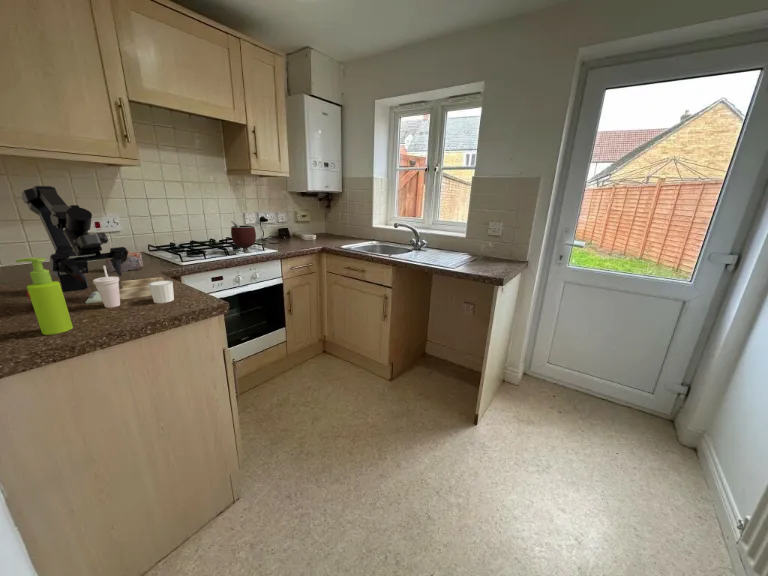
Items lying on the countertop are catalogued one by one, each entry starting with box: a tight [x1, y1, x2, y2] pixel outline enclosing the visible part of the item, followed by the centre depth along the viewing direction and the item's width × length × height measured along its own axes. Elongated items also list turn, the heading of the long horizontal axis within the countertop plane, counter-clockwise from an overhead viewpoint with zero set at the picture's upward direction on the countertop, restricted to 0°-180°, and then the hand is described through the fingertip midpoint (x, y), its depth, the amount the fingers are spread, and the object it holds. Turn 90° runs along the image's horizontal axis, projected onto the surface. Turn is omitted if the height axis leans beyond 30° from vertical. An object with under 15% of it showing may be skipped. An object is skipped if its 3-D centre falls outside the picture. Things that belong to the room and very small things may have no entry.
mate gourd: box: [230, 220, 257, 253], centre depth 191 cm, size 16×14×20 cm
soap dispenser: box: [15, 257, 74, 336], centre depth 81 cm, size 6×7×20 cm
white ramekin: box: [148, 279, 175, 304], centre depth 106 cm, size 7×7×7 cm
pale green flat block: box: [85, 290, 103, 304], centre depth 109 cm, size 8×13×2 cm, turn 32°
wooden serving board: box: [119, 276, 165, 300], centre depth 115 cm, size 13×13×4 cm
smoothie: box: [92, 265, 121, 309], centre depth 99 cm, size 6×6×14 cm
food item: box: [105, 249, 144, 273], centre depth 147 cm, size 14×8×10 cm, turn 119°
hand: (103, 278), depth 99 cm, fingers open, 9 cm apart
